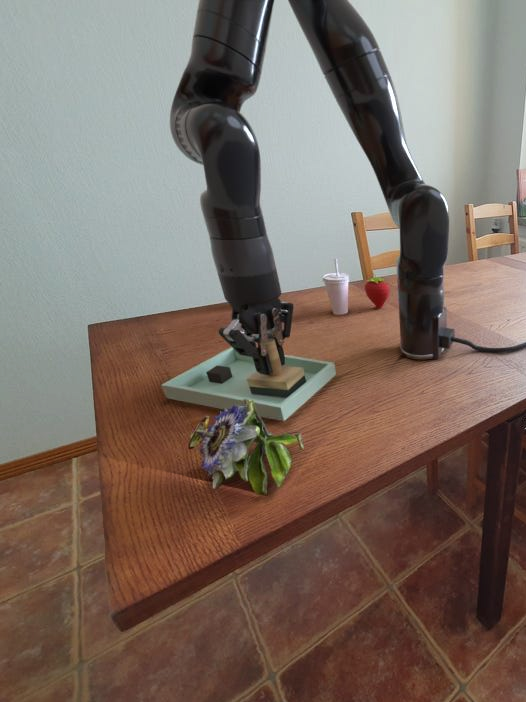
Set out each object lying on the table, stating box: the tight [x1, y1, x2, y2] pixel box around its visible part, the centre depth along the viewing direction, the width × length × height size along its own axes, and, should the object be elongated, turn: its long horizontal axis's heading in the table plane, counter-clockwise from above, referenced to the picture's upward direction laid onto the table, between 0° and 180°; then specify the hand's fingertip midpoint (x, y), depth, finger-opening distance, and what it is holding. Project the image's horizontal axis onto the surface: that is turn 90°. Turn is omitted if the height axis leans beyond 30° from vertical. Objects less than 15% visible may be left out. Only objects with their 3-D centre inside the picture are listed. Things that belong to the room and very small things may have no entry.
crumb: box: [206, 366, 232, 384], centre depth 66 cm, size 2×2×2 cm
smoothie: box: [322, 258, 350, 316], centre depth 95 cm, size 6×6×14 cm
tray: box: [160, 346, 337, 422], centre depth 65 cm, size 22×15×3 cm
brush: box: [247, 338, 306, 397], centre depth 62 cm, size 7×5×9 cm
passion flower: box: [187, 399, 305, 497], centre depth 48 cm, size 11×11×12 cm
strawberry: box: [364, 272, 391, 309], centre depth 100 cm, size 6×8×10 cm
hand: (272, 368), depth 63 cm, fingers closed on brush, 2 cm apart
